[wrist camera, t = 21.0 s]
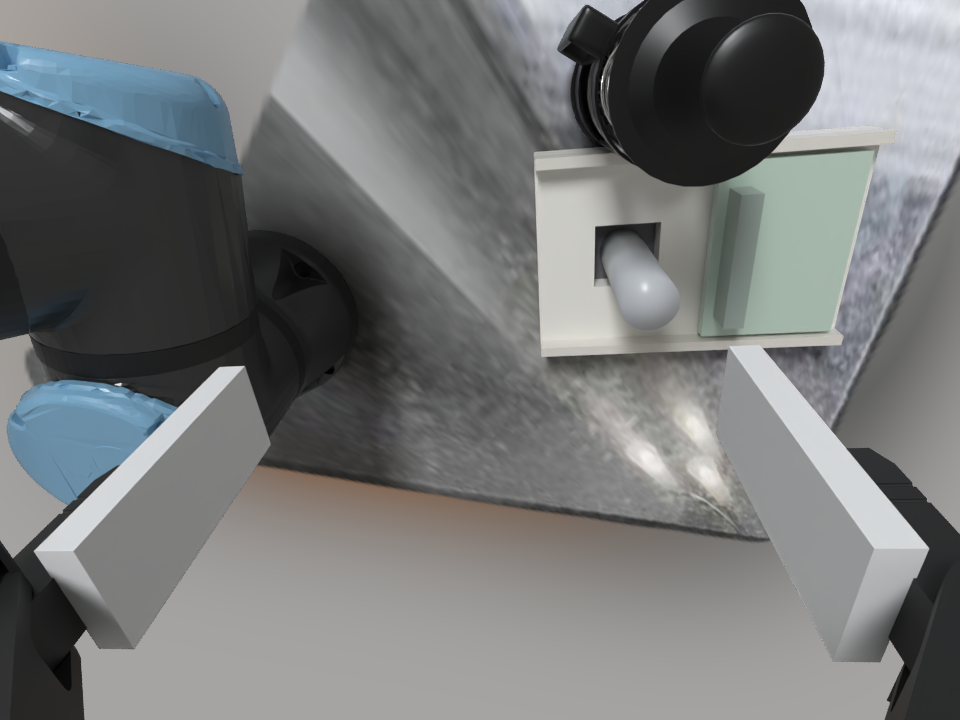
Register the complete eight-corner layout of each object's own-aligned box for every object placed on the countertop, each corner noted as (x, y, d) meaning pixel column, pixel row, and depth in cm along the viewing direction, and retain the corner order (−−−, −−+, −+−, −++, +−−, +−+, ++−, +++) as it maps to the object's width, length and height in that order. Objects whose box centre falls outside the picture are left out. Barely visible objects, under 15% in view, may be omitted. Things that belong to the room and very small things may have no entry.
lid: (697, 331, 45) (709, 350, 42) (717, 160, 39) (733, 168, 36) (824, 325, 44) (846, 345, 41) (866, 148, 38) (896, 156, 35)
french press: (737, 58, 38) (995, 23, 18) (658, 181, 42) (793, 268, 22) (595, -33, 36) (699, -190, 16) (526, 104, 40) (538, 121, 20)
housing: (540, 338, 49) (541, 356, 46) (533, 152, 42) (534, 159, 38) (820, 326, 47) (841, 344, 44) (867, 125, 39) (896, 130, 36)
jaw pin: (598, 271, 45) (619, 330, 35) (600, 229, 44) (623, 277, 33) (642, 270, 45) (676, 329, 34) (645, 227, 43) (683, 275, 33)
